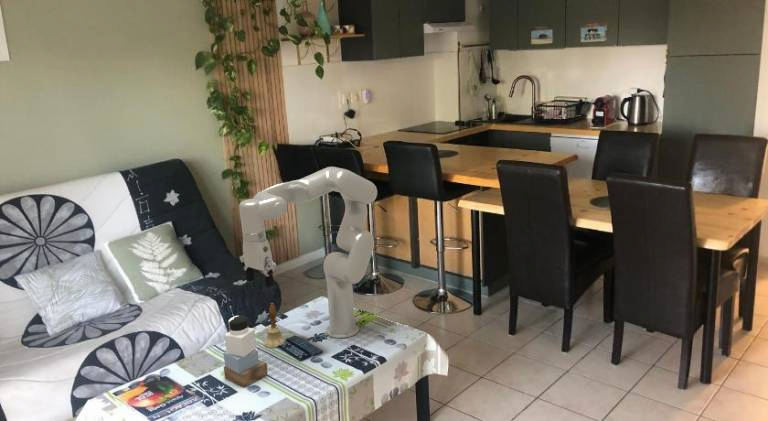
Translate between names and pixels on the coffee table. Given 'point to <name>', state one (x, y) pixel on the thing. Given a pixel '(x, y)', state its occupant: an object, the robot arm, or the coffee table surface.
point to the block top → (241, 361)
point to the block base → (247, 374)
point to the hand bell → (273, 331)
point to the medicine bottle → (240, 337)
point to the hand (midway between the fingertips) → (260, 283)
